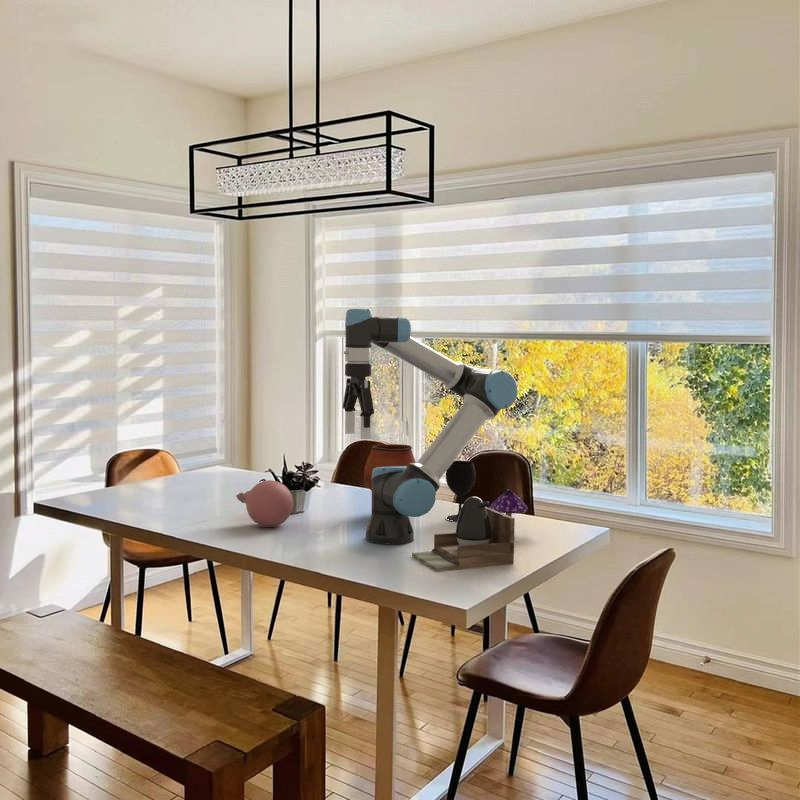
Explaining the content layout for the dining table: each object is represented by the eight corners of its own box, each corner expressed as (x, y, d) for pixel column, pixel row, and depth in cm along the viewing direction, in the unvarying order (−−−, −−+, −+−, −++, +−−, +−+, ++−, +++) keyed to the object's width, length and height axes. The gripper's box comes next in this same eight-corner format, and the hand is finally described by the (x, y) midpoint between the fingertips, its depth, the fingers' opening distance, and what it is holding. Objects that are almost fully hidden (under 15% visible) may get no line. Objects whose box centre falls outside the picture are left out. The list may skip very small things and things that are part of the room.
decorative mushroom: (529, 532, 279) (530, 487, 278) (525, 541, 267) (526, 494, 266) (492, 529, 282) (493, 485, 281) (485, 538, 270) (486, 491, 269)
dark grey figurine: (476, 555, 237) (477, 501, 236) (448, 548, 244) (449, 496, 243) (498, 548, 245) (499, 496, 244) (469, 542, 252) (471, 491, 251)
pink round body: (249, 518, 294) (249, 474, 293) (301, 523, 287) (301, 478, 286) (225, 527, 280) (225, 481, 278) (279, 533, 273) (279, 486, 272)
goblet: (422, 511, 309) (423, 443, 307) (410, 523, 290) (411, 450, 288) (371, 508, 313) (372, 441, 311) (357, 519, 295) (357, 448, 293)
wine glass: (465, 523, 291) (466, 465, 289) (439, 519, 296) (440, 463, 295) (480, 518, 299) (481, 462, 298) (454, 514, 305) (455, 459, 303)
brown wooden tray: (412, 556, 247) (412, 512, 246) (485, 549, 256) (486, 506, 255) (436, 571, 231) (437, 524, 230) (513, 563, 240) (514, 518, 239)
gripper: (332, 361, 254) (331, 431, 256) (360, 364, 231) (359, 441, 233) (356, 361, 257) (355, 431, 259) (386, 364, 234) (385, 440, 236)
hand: (357, 436), depth 246 cm, fingers open, 13 cm apart
